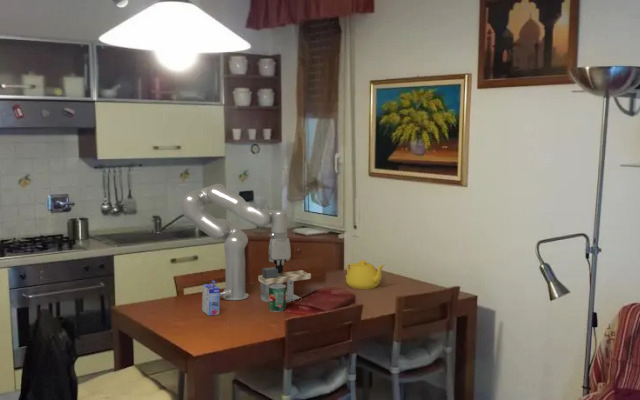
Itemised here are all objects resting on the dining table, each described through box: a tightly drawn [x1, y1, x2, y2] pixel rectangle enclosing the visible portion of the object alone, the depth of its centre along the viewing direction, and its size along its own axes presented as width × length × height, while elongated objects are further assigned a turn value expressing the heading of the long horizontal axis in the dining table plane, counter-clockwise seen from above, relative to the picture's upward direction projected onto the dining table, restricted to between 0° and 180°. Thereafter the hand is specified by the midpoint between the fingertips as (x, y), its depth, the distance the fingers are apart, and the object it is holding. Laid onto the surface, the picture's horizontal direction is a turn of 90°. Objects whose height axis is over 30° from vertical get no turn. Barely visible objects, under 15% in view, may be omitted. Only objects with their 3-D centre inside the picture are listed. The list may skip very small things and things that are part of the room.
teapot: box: [345, 259, 385, 290], centre depth 344 cm, size 25×18×14 cm
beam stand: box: [260, 280, 301, 303], centre depth 317 cm, size 16×16×10 cm
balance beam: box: [257, 269, 312, 285], centre depth 318 cm, size 24×9×3 cm, turn 119°
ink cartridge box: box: [201, 279, 221, 317], centre depth 292 cm, size 10×6×14 cm, turn 27°
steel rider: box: [261, 266, 278, 279], centre depth 314 cm, size 6×5×5 cm
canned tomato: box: [268, 283, 287, 313], centre depth 298 cm, size 8×8×11 cm
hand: (279, 272), depth 317 cm, fingers closed
